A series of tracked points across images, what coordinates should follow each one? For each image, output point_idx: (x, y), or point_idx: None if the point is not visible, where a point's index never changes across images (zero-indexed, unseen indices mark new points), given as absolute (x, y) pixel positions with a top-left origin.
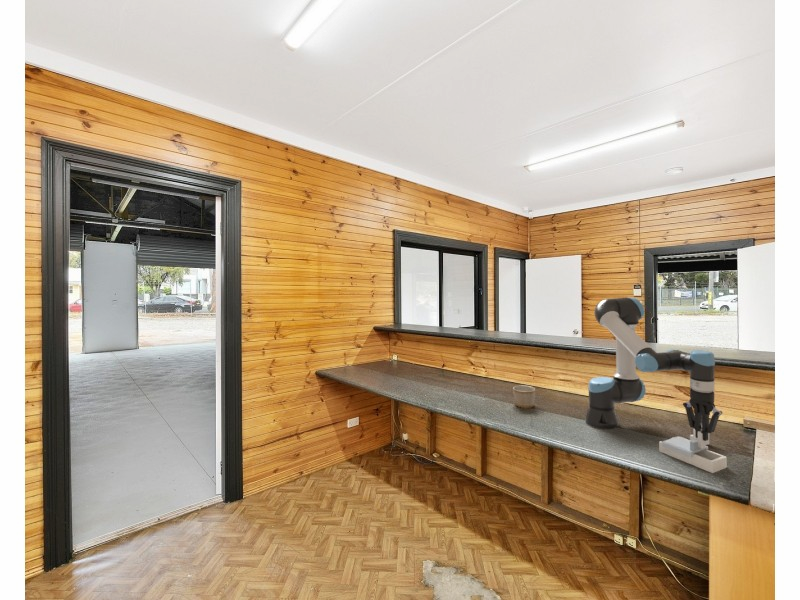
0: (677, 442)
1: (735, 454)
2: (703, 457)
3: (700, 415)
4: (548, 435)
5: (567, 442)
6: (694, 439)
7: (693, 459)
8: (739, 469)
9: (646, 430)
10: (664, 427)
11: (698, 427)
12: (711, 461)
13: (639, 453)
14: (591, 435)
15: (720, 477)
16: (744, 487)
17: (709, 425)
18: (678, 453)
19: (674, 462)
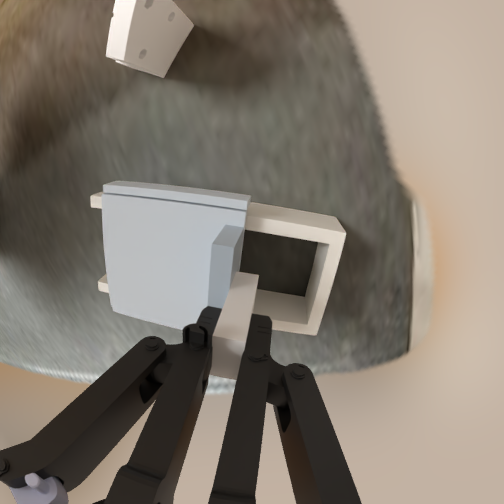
0: (140, 278)
1: (309, 39)
2: (275, 320)
3: (172, 470)
4: (21, 356)
5: (44, 366)
6: (141, 69)
7: None
8: (373, 192)
9: (25, 130)
10: (46, 48)
11: (204, 393)
12: (311, 333)
13: (112, 328)
14: (19, 302)
15: (338, 315)
16: (399, 323)
17: (288, 451)
18: None
19: None
